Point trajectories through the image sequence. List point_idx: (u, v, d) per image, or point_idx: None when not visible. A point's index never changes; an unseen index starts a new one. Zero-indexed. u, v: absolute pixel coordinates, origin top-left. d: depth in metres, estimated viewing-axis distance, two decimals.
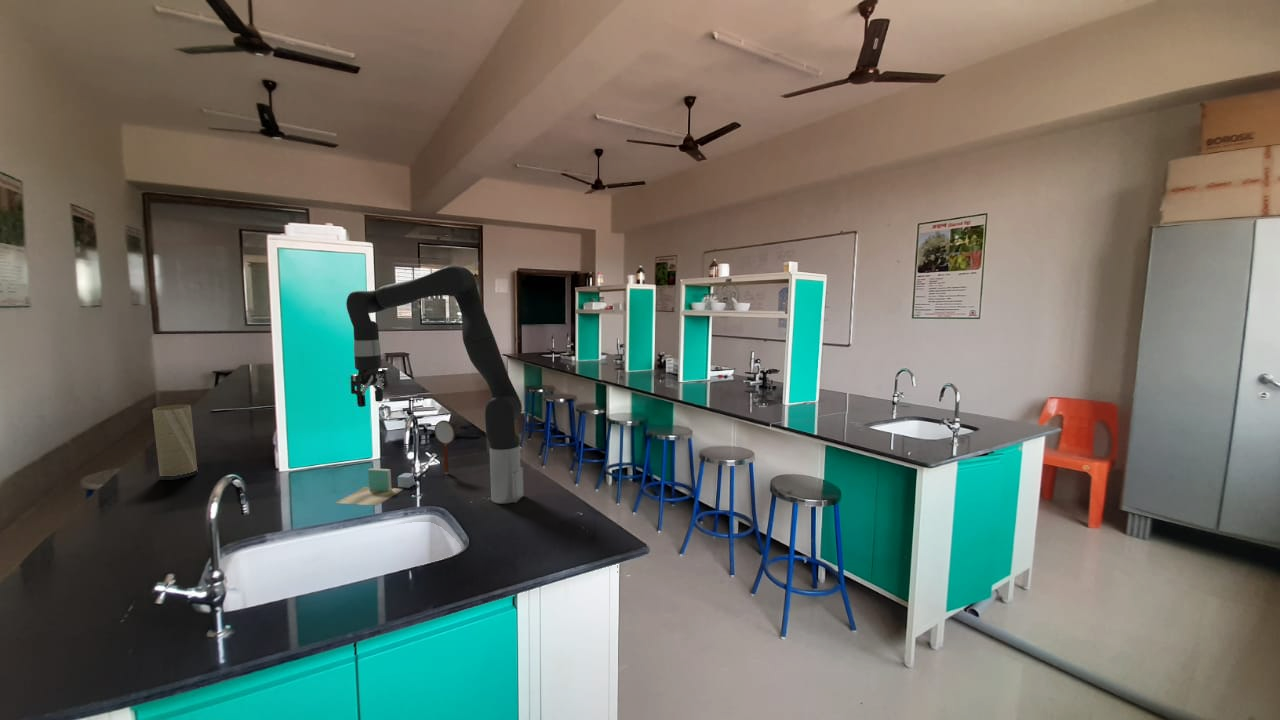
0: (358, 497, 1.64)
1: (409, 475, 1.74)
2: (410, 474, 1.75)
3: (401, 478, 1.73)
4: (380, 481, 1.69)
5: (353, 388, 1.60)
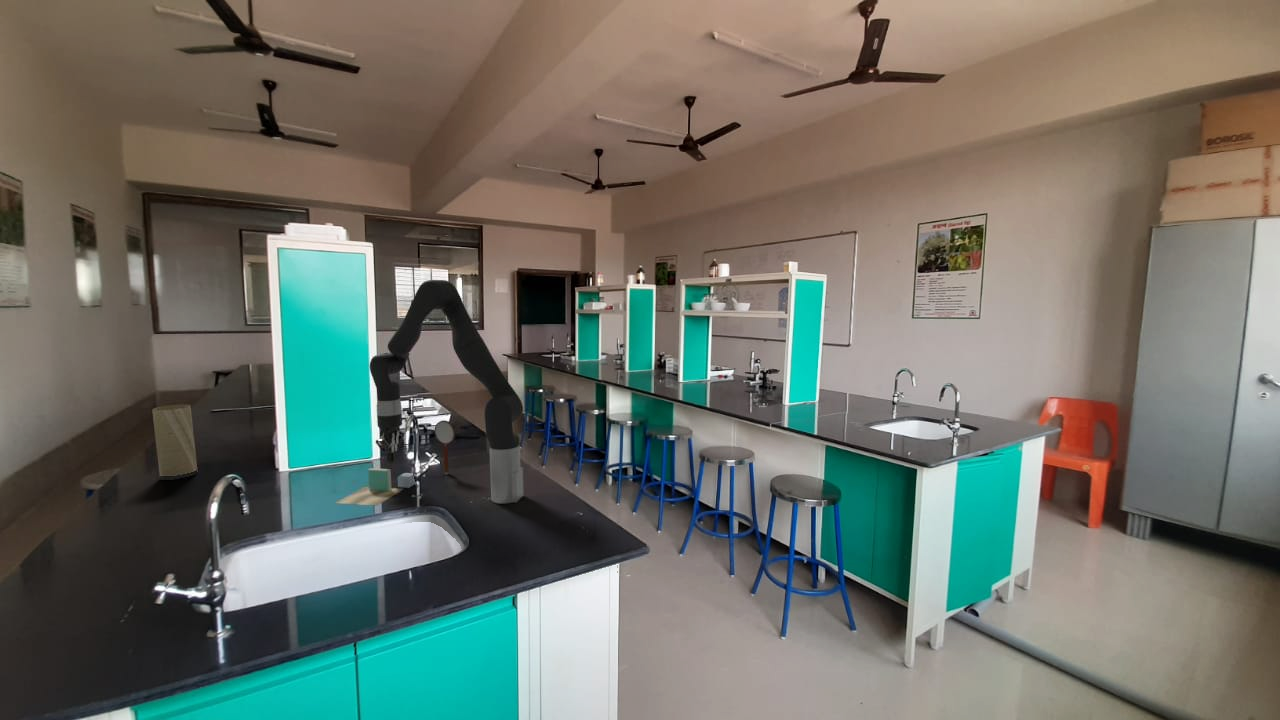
0: (358, 497, 1.64)
1: (409, 475, 1.74)
2: (410, 474, 1.75)
3: (401, 478, 1.73)
4: (380, 481, 1.69)
5: (382, 448, 1.72)
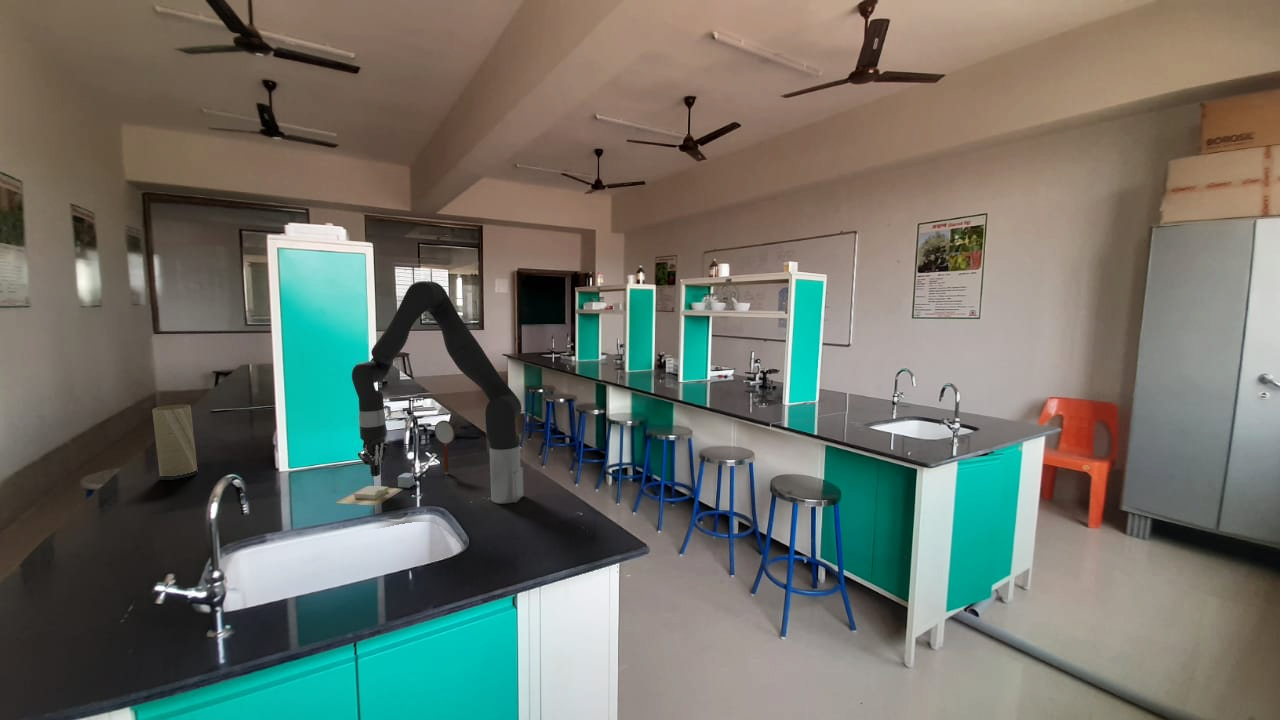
0: None
1: (409, 475, 1.74)
2: (410, 474, 1.75)
3: (401, 478, 1.73)
4: None
5: (365, 461, 1.64)
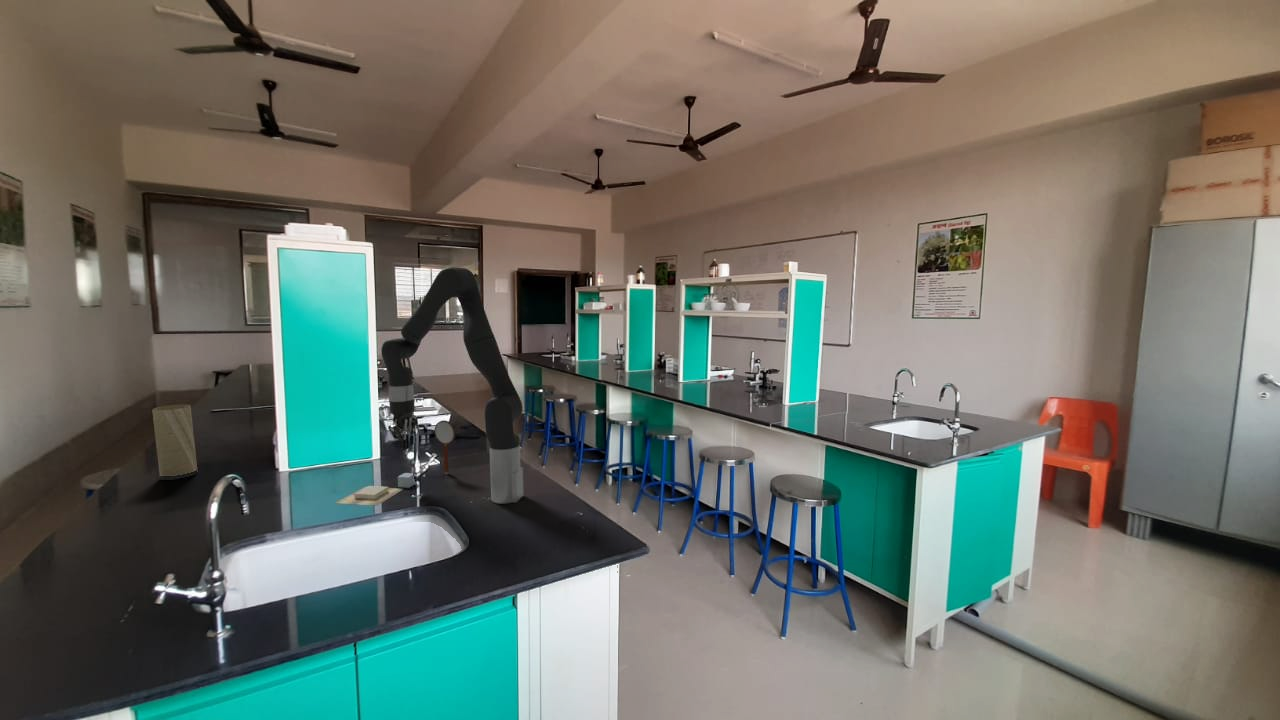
0: None
1: (409, 475, 1.74)
2: (410, 474, 1.75)
3: (401, 478, 1.73)
4: None
5: (394, 435, 1.69)
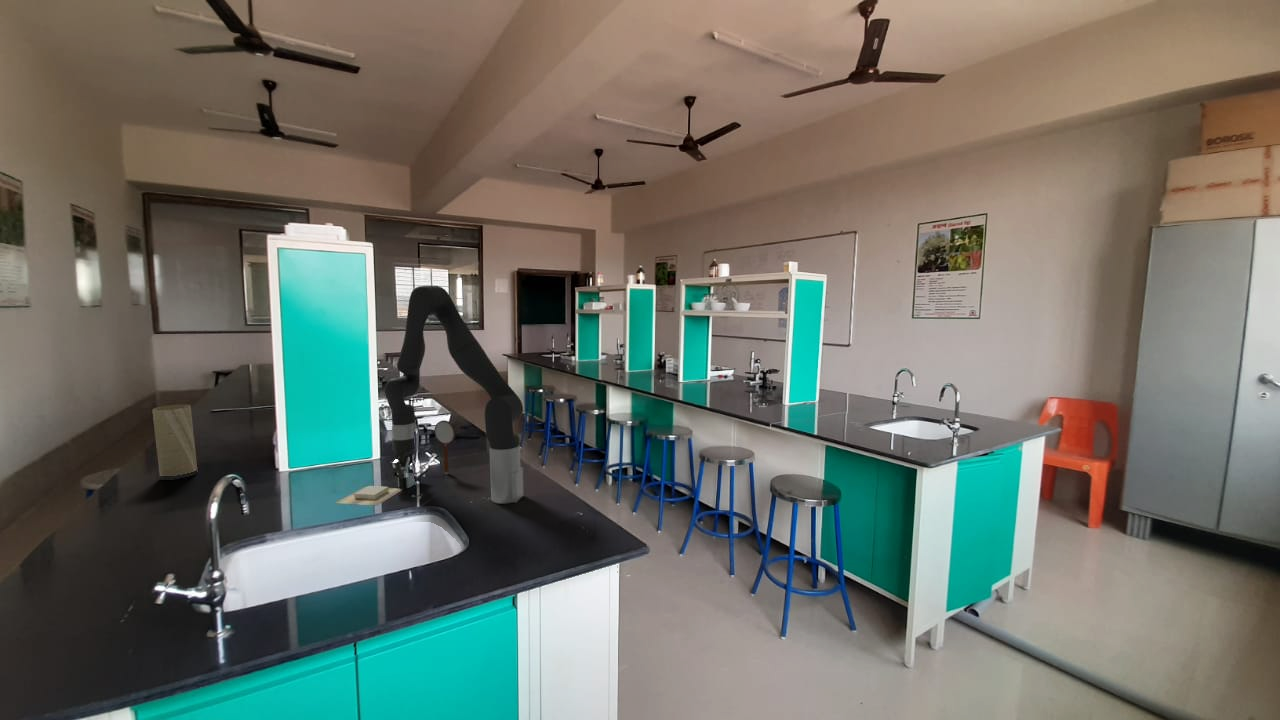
0: None
1: (409, 475, 1.74)
2: (410, 474, 1.75)
3: None
4: None
5: (395, 472, 1.69)
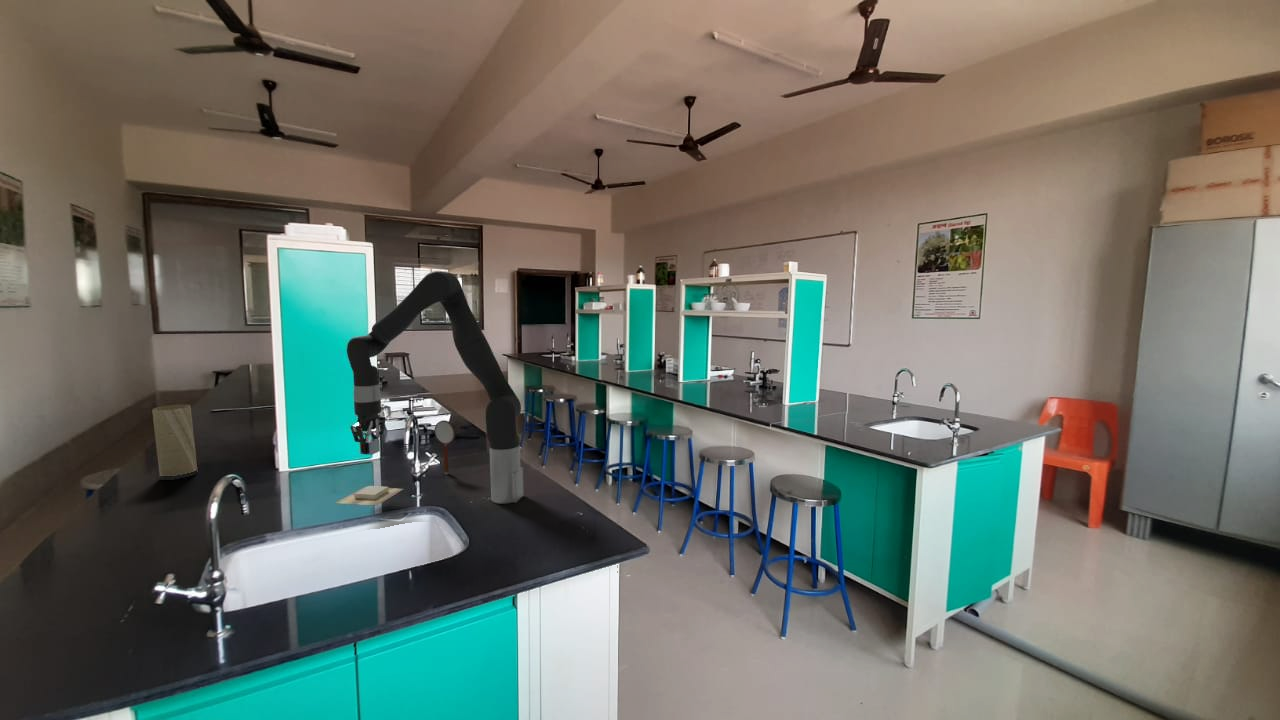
0: None
1: (372, 440, 1.64)
2: (373, 439, 1.65)
3: None
4: None
5: (356, 437, 1.59)
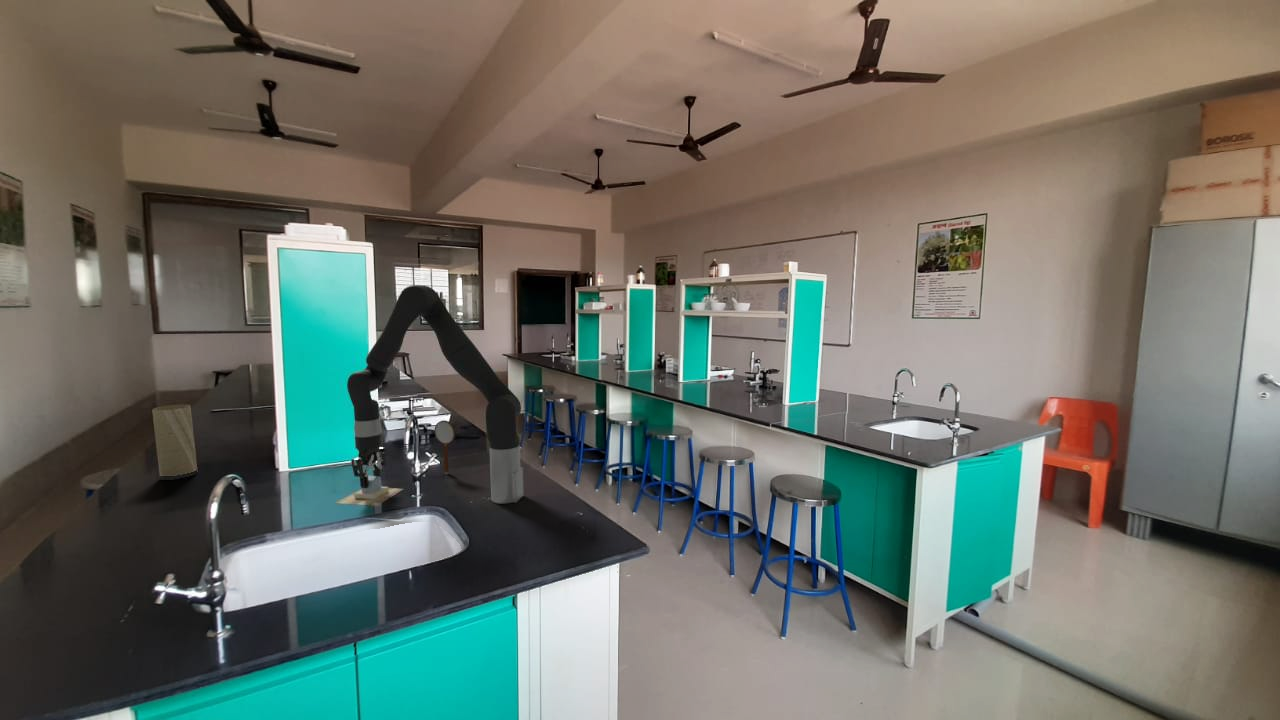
0: None
1: (373, 478, 1.65)
2: (375, 477, 1.66)
3: None
4: None
5: (356, 471, 1.59)
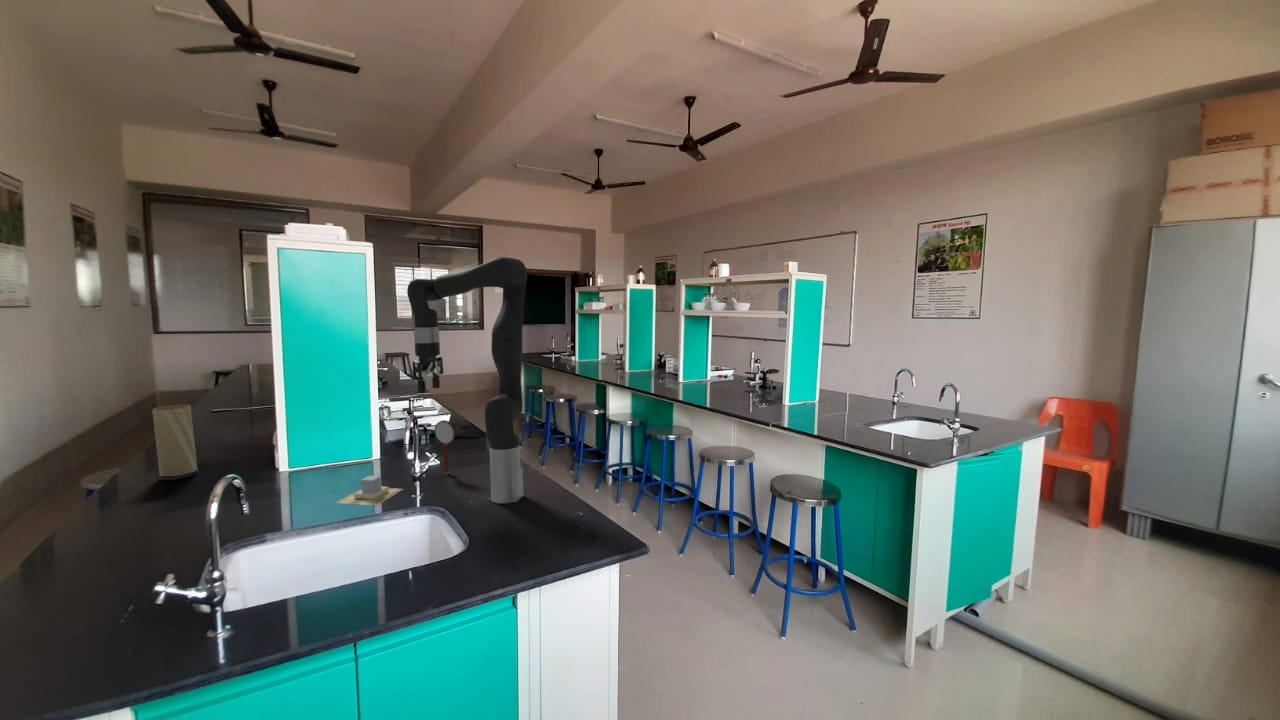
0: None
1: (373, 478, 1.65)
2: (375, 477, 1.66)
3: (364, 481, 1.63)
4: None
5: (415, 374, 1.63)
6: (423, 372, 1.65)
